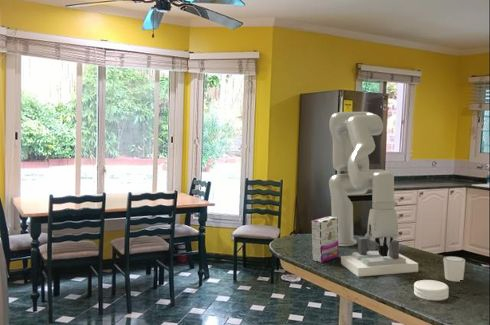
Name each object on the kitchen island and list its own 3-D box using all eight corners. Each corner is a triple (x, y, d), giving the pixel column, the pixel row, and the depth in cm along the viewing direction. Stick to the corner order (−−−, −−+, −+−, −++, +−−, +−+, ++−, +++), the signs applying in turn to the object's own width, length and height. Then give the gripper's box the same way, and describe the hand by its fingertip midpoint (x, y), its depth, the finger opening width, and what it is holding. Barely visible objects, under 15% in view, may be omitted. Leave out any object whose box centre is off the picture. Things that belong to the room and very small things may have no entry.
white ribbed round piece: (437, 289, 150) (437, 278, 149) (455, 300, 140) (455, 288, 139) (408, 291, 148) (408, 280, 148) (423, 302, 139) (423, 291, 138)
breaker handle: (388, 256, 171) (388, 240, 170) (395, 255, 171) (395, 239, 171) (392, 258, 168) (392, 242, 167) (398, 257, 168) (398, 241, 168)
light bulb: (380, 257, 186) (380, 233, 185) (364, 257, 187) (364, 232, 187) (379, 253, 192) (378, 229, 191) (364, 253, 193) (363, 229, 192)
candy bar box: (329, 255, 192) (328, 215, 191) (339, 257, 188) (338, 217, 187) (311, 260, 184) (310, 219, 183) (321, 263, 181) (320, 221, 180)
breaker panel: (341, 263, 179) (340, 237, 178) (396, 259, 183) (396, 233, 182) (358, 276, 163) (357, 247, 162) (418, 271, 167) (418, 243, 166)
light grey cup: (448, 274, 163) (448, 254, 163) (468, 278, 158) (468, 258, 158) (439, 279, 159) (439, 258, 158) (460, 283, 154) (460, 262, 153)
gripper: (397, 203, 172) (397, 251, 174) (359, 205, 170) (359, 254, 171) (407, 206, 165) (407, 257, 166) (367, 208, 163) (368, 259, 164)
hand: (383, 255), depth 169 cm, fingers closed
